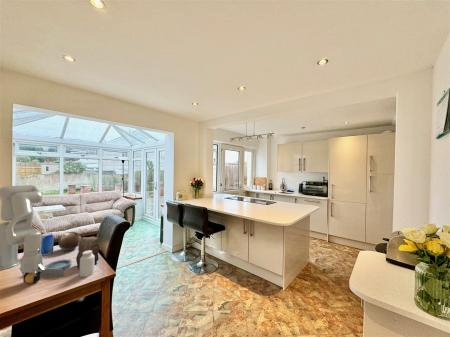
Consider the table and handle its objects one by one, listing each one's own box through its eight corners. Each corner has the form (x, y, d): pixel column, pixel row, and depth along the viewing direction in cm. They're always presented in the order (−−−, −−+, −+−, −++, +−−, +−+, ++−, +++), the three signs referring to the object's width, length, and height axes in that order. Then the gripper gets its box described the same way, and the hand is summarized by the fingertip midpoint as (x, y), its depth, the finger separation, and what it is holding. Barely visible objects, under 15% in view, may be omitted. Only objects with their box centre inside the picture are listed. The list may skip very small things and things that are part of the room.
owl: (75, 265, 136) (76, 237, 136) (95, 259, 146) (96, 233, 146) (79, 271, 128) (80, 242, 128) (100, 264, 137) (101, 237, 137)
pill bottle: (77, 278, 120) (78, 255, 120) (81, 272, 127) (82, 250, 127) (92, 275, 123) (93, 253, 123) (95, 269, 130) (95, 248, 131)
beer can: (44, 256, 148) (45, 236, 148) (36, 255, 150) (36, 235, 150) (56, 252, 156) (56, 233, 156) (48, 250, 158) (48, 232, 158)
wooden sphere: (53, 252, 155) (53, 234, 155) (70, 245, 169) (70, 229, 170) (69, 254, 153) (69, 236, 153) (85, 246, 168) (85, 230, 168)
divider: (27, 274, 123) (27, 267, 123) (29, 273, 124) (29, 266, 124) (61, 276, 122) (61, 269, 122) (62, 275, 123) (62, 268, 123)
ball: (21, 285, 112) (21, 275, 112) (32, 279, 118) (32, 269, 118) (30, 285, 112) (31, 275, 112) (41, 279, 118) (41, 270, 118)
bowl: (38, 272, 125) (38, 269, 125) (58, 262, 139) (58, 259, 140) (57, 274, 124) (57, 270, 124) (76, 263, 139) (76, 260, 139)
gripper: (12, 254, 112) (11, 284, 112) (38, 255, 111) (38, 286, 111) (26, 249, 119) (25, 277, 119) (51, 250, 118) (50, 278, 118)
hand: (31, 281), depth 115 cm, fingers closed on ball, 5 cm apart
